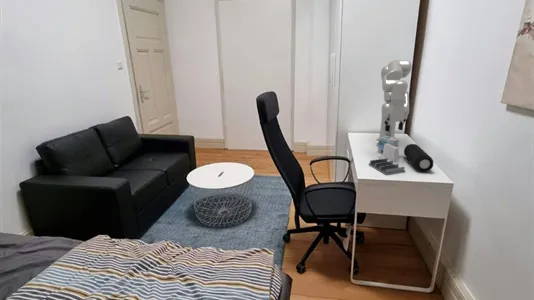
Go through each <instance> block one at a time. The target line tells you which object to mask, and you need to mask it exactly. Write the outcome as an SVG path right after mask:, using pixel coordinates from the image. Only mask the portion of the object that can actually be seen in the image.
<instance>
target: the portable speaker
mask: <svg viewBox="0 0 534 300" xmlns="http://www.w3.org/2000/svg"><path fill="white" fill-rule="evenodd" d="M403 155H404V156H405V157H406V159H407V160H408V161H409V162H410V163H411V164H412V166H414V167H415V169H416V170H418V171H419V172H423V173H425V172H428V171H431V170H432V169H433V167H434V159H433V158H432V157H431V156H430V155H429V154H428V153H427V152H426V151H425V150H424V149H422V148H421V147H420V146H419V145H418V144H415V143H410V144H409V143H408V144H407V145H406V146H405V147H404V149H403Z"/></svg>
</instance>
